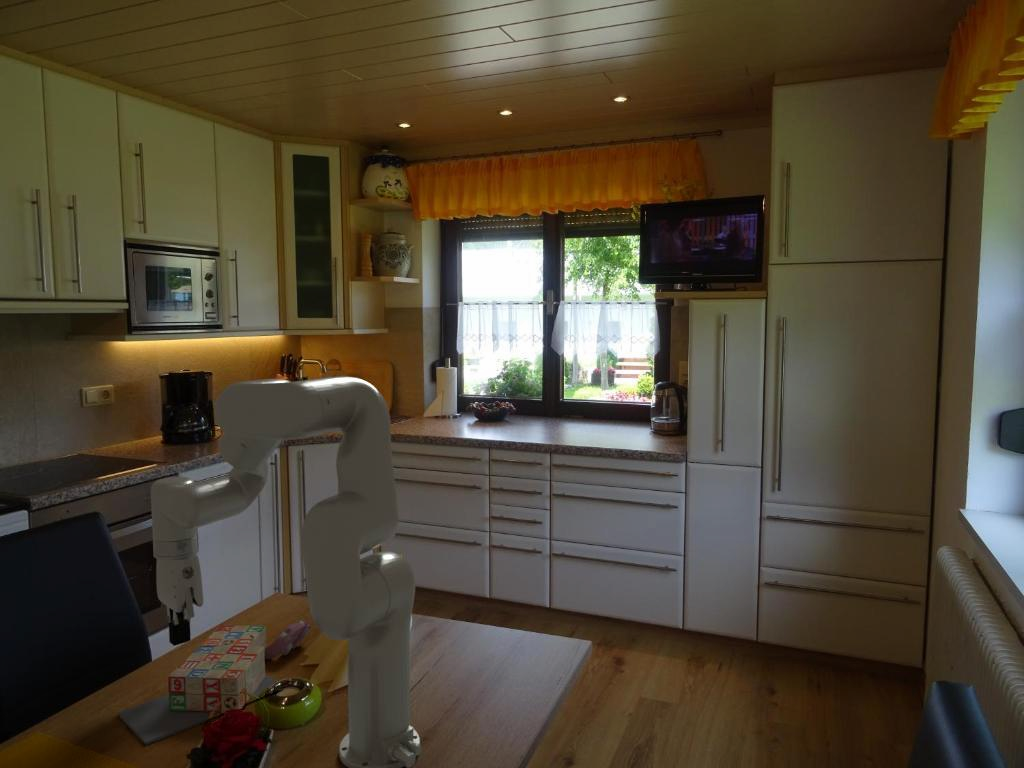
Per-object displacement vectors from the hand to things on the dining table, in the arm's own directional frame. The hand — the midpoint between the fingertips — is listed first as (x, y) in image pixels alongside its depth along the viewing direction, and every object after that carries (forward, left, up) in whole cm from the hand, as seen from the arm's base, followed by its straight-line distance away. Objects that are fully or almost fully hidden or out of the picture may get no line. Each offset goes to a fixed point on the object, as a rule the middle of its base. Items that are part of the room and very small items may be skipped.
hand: (180, 641), depth 134 cm
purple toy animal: (-2, -20, -8) cm, 22 cm away
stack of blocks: (-2, -2, -4) cm, 5 cm away
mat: (-9, 0, -8) cm, 12 cm away
